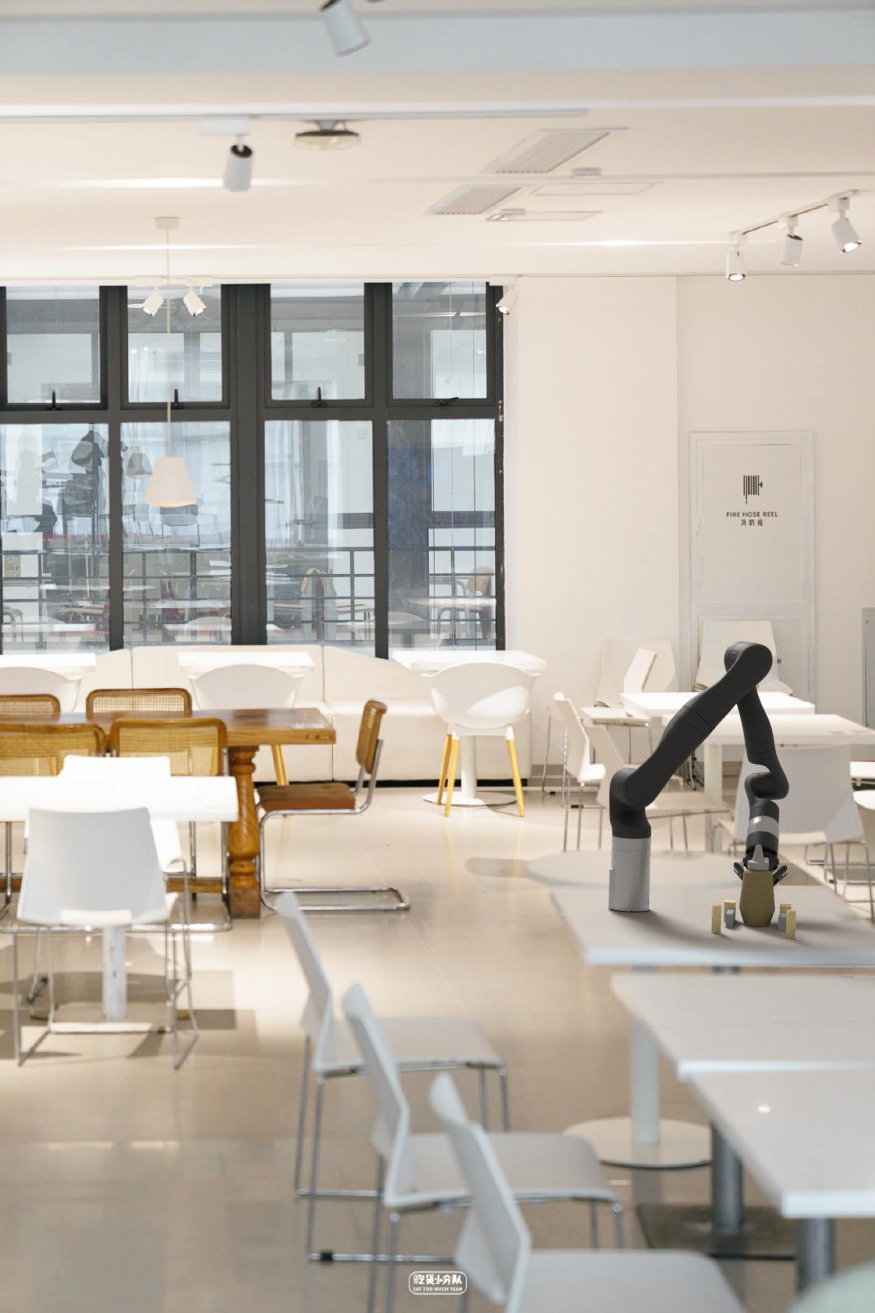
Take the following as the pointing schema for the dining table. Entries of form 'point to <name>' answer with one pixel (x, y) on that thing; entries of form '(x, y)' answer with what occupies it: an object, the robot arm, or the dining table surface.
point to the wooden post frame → (784, 920)
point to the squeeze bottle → (757, 892)
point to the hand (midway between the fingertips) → (758, 899)
